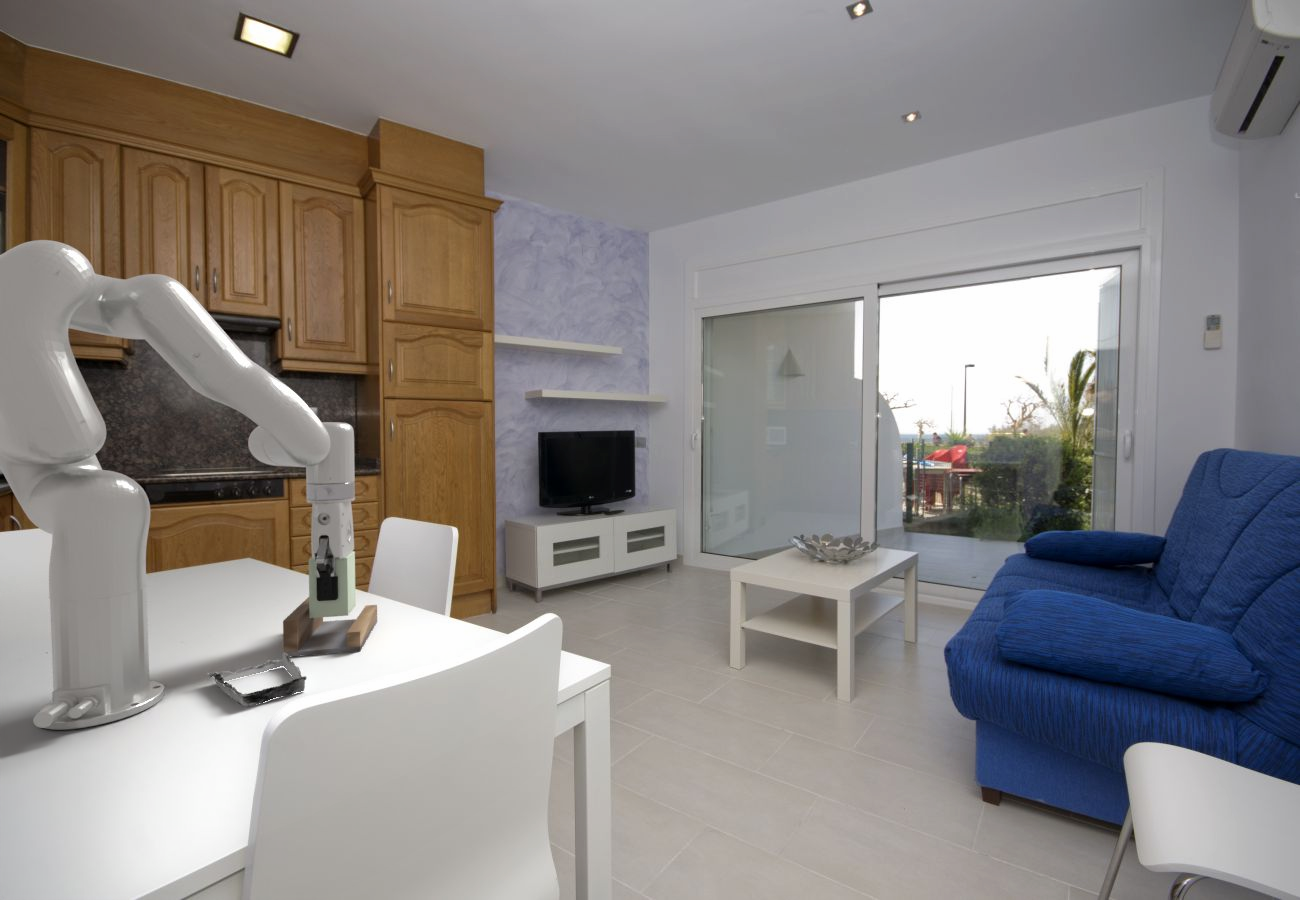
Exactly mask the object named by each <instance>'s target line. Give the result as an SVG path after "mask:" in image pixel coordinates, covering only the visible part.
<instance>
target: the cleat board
mask: <svg viewBox="0 0 1300 900" xmlns="http://www.w3.org/2000/svg"><path fill="white" fill-rule="evenodd" d="M377 624H378V604H370V605H364V607H363V608H362V610H361V612H360V613H359V615H357V618H355V619H354V618H353V619H343V620H341V619H339V620H338V619H337V620H328V621H326V620H325V621H324V617H319V618H310V613H309V596H308V597H307V598H306V599H305V600H304V601H302V602H301V603H300V605H298V606H297V607H296V608H295V609H294V610H293V611H292V612H291V613H290V614H289V615H287V617H285V618H284V619H283V621H282V633H283V634H282V635H283V636H282V637H283V638H282V639H283V653H284V652H285V653H286V654H288V656H298V657H301V656H300V655H310V656H315V655H314V654H322V655H328V654H327V653H334V654H339V653H338V652H345V653H354V652H355V651H357V652H361V651H362V649H363V648H362V647H364V646H365V644H366V642H367V641H368V639H369V637H370V635H371V634H372V632H371V631H374V629H375V627H376V625H377ZM374 626H375V627H374ZM370 633H371V634H370ZM366 640H367V641H366ZM353 651H354V652H353ZM355 653H356V652H355Z"/></svg>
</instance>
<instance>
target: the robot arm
mask: <svg viewBox="0 0 1300 900" xmlns="http://www.w3.org/2000/svg"><path fill="white" fill-rule="evenodd" d="M70 329H71V330H76V331H81V332H85V333H91V334H97V335H102V336H109V337H114V338H119V339H120V338H121V339H129V340H145V341H146V342H147V344H149V345H150V347H152V348H153V350H155V351H156V352H157V353H158V354H159V355H160V357H161V358H163V359H164V361H166V362H167V364H168V365H169V366H170V367H172V369H173V370H174V371H175V372H176V373H177V374H178V375H179V376H180V377H181V378H182V380H184V381H185V382H186V383H187V385H188V386H190V387H191V388H192V389H193V390H194V391H196V392H197V393H199V394H201V395H202V396H204V397H206V398H208V399H210V400H212V401H215V402H216V403H220V404H222V405H225V406H228V408H229V407H230V408H232V409H233V410H235V411H238V412H239V413H241V414H242V415H244V416H246V417H247V418H248V419H250V420H251V421H252V422H254V423H255V424H256V425H257V426H256V427H255V428H254V429H253V430H252V431H251V433H250V434H249V437H248V442H247V444H248V450H249V452H250V454H251V455H252V456H253V457H254V458H255V459H256V460H258V462H261V463H262V464H265V465H270V466H275V467H276V466H277V467H296V468H305V476H306V477H305V478H306V480H305V481H306V482H305V483H306V486H305V487H306V503H308V504H311V505H312V507H311V508H312V509H311V532H310V535H311V537H310V538H311V539H310V540H311V541H310V542H311V544H310V545H311V547H310V548H311V558H313V559H314V560H316V564H317V574H316V577H317V578H316V580H317V600H318V601H330V600H337V599H338V576H336V561H337V560H336V558H339V560H343V559H344V558H345V557H346V556H348V555H349V554H350V553H351V552H352V551H354V550H355V535H354V519H353V508H352V502H354V501H355V500H356V496H355V495H356V491H355V490H356V489H355V487H356V483H355V481H356V479H355V478H356V477H355V473H356V471H355V432H354V427H353V426H352V425H351V424H349V423H348V422H340V421H339V422H338V421H337V422H335V421H334V422H333V421H332V422H331V421H328V422H327V421H323V422H322V421H321V420H320V418H319V416H317V415H316V413H315V412H314V411H313V409H312V408H310V407H309V406H308V404H307V403H306V402H305V401H304V400H303V399H302V398H301V397H300V396H299V395H298V394H297V393H296V392H295V391H294V390H292V388H290V387H289V386H288V385H287V384H286V383H284V382H283V381H282V380H280V379H278V378H277V377H275V376H274V375H272V374H271V373H270V372H268V370H267V369H265V368H263V367H262V366H260V365H259V364H257V363H256V362H254V361H253V360H252V359H250V358H249V356H247V354H245V353H244V352H243V351H242V350H241V348H240V347H239V346H238V345H237V344H236V343H235V342H234V341H233V339H231V337H230V336H229V335H228V334H227V333H226V331H224V329H223V328H222V327H221V326H220V325H219V323H218V322H217V321H216V320H215V319H214V318H213V317H212V315H210V313H209V312H208V311H207V310H206V308H205V307H203V305H202V304H201V303H200V301H199V300H198V299H197V298H196V297H195V296H194V295H193V294H192V293H191V291H189V290H188V289H187V288H186V286H184V285H183V284H182V283H181V282H179V281H178V280H177V279H175V278H173V277H171V276H169V275H168V276H167V275H165V274H159V273H157V274H156V273H147V274H140V275H136V276H133V277H128V278H127V279H126V278H125V279H123V278H115V277H111V276H106V275H102V274H98V273H95V269H94V267H93V265H92V263H91V262H90V260H89V259H88V258H87V257H86V256H85V255H84V254H83V253H81V251H79V249H76V248H75V247H73V246H71V245H69V244H67V243H63V242H59V241H55V240H50V239H49V240H48V239H38V240H37V239H36V240H31V241H27V242H23V243H21V244H18V245H16V246H14V247H12V248H10V249H8V250H7V251H5V252H3V253H1V254H0V471H1V472H2V474H3V476H4V478H5V479H6V481H7V484H8V485H9V488H10V489H11V490H12V493H13V494H14V496H15V498H16V500H17V502H18V504H19V505H20V507H21V509H22V511H23V512H24V513H25V515H26V517H27V519H29V521H30V522H32V523H33V525H34V526H36V527H37V528H38V529H40V530H42V531H43V532H46V533H48V534H51V535H52V536H51V537H52V538H51V549H50V557H49V567H48V589H49V590H48V591H49V592H48V593H49V594H48V595H49V596H48V597H49V607H50V608H49V609H50V613H49V614H50V635H51V639H50V640H51V659H52V660H51V661H52V683H53V684H52V686H53V691H52V693H51V694H52V701H51V702H50V703H47V704H45V706H43V707H42V708H41V709H40V710H39V711H38V712H37V714H35V715H34V718H33V720H32V721H33V724H34V726H36V727H37V728H40V729H41V728H43V729H47V730H54V731H55V730H59V731H60V730H61V731H62V730H63V731H64V730H76V729H85V728H90V727H95V726H100V725H104V724H108V723H111V722H116V721H119V720H122V719H124V718H125V719H126V718H128V717H131V716H134V715H136V714H138V713H141V712H143V711H145V710H148V709H149V708H151V707H153V706H155V705H157V704H158V702H159V701H161V700H162V699H163V698H164V696H165V686H164V684H162V683H161V682H159V681H157V680H156V681H155V680H150V653H149V652H150V650H149V649H150V648H149V623H148V621H149V618H148V615H149V614H148V586H147V569H146V568H147V545H148V543H147V542H148V538H149V529H150V523H151V504H150V501H149V497H148V495H147V493H146V491H145V490H144V488H143V487H142V486H141V485H140V484H139V483H138V482H137V481H135V480H134V479H133V478H131V477H130V476H127V475H125V474H123V473H120V472H117V471H112V470H109V469H108V470H105V469H103V468H102V466H101V464H100V461H99V460H98V457H97V455H96V454H98V452H99V451H100V450H101V449H102V448H103V446H104V444H105V442H106V439H107V426H106V422H105V420H104V418H103V416H102V414H101V411H100V410H99V408H98V406H97V404H96V403H95V400H94V398H93V396H92V394H91V391H90V389H89V387H88V385H87V383H86V381H85V379H84V376H83V375H82V372H81V371H80V369H79V366H78V364H77V362H76V358H75V355H74V353H73V350H72V347H71V343H70V338H69V337H70V336H69V330H70ZM327 556H333V558H327ZM327 563H332V565H330V564H327Z"/></svg>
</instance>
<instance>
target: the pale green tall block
mask: <svg viewBox="0 0 1300 900" xmlns="http://www.w3.org/2000/svg"><path fill="white" fill-rule="evenodd" d="M327 558H333V556H327ZM336 560H337V561H336V576H338V599H337V600H330V601H318V600H317V580H316V578H317V577H316V574H317V564H316V560H314V559H313V558H312V557H310V558H309V559H308V597H309V613H310V618H319V617H323V618H329V617H330V618H331V617H332V618H333V617H346V616H349V615H350V613H351V612H353V610H354V609H355V607H356V606H357V605H356V551H354V550H353V551H352V552H351V553H350V554H349V555H348V556H346V557H345V558H344V559H343V560H339V558H336ZM327 564H330V565H332V563H327Z"/></svg>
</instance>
